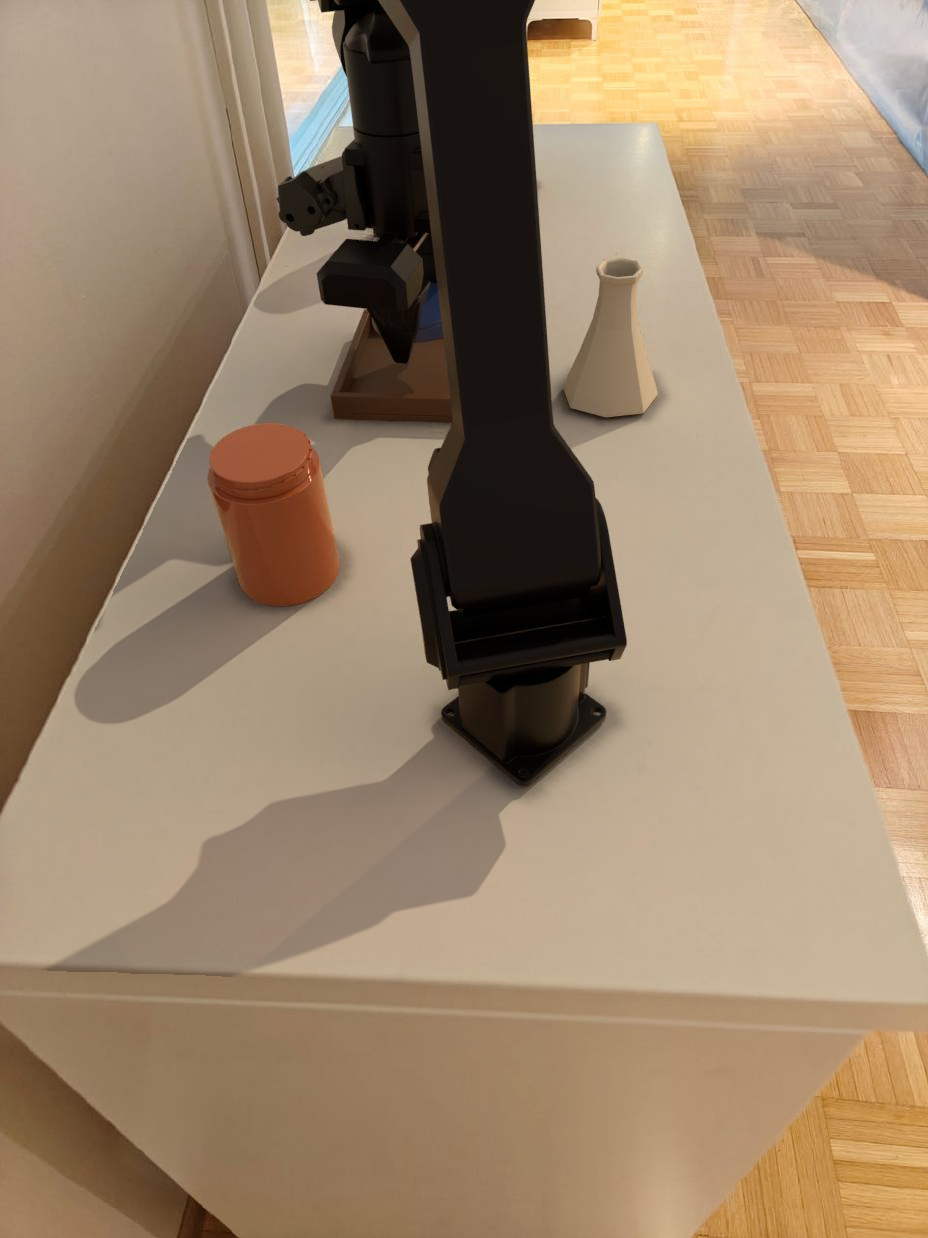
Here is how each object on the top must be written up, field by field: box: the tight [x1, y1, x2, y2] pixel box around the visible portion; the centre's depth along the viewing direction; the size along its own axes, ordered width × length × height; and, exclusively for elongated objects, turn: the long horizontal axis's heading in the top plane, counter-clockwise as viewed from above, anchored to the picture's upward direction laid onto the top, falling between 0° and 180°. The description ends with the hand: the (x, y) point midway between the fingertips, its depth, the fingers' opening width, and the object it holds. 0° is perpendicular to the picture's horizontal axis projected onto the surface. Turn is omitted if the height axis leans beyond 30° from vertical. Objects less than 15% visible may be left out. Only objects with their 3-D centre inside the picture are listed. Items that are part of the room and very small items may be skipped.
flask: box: [562, 257, 659, 418], centre depth 66 cm, size 7×7×10 cm
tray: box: [330, 309, 453, 423], centre depth 73 cm, size 13×11×2 cm
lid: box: [372, 282, 443, 343], centre depth 69 cm, size 7×7×1 cm
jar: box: [207, 422, 341, 607], centre depth 55 cm, size 6×6×9 cm
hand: (416, 338), depth 71 cm, fingers closed on lid, 6 cm apart
